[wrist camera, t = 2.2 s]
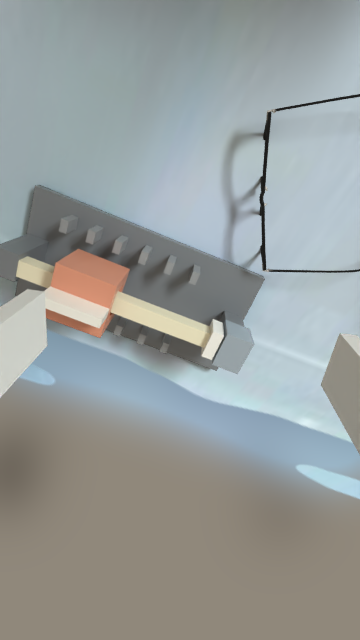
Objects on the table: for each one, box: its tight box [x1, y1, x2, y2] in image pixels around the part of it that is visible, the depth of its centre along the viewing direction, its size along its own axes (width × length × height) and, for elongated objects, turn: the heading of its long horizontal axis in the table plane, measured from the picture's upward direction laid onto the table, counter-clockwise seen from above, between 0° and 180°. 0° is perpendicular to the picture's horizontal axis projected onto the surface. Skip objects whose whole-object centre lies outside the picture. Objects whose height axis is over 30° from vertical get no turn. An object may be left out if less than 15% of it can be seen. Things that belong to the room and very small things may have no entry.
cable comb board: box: [0, 185, 265, 371], centre depth 38 cm, size 28×14×8 cm, turn 69°
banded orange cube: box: [45, 249, 130, 338], centre depth 34 cm, size 6×6×8 cm
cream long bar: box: [16, 256, 254, 374], centre depth 35 cm, size 27×4×4 cm, turn 69°
